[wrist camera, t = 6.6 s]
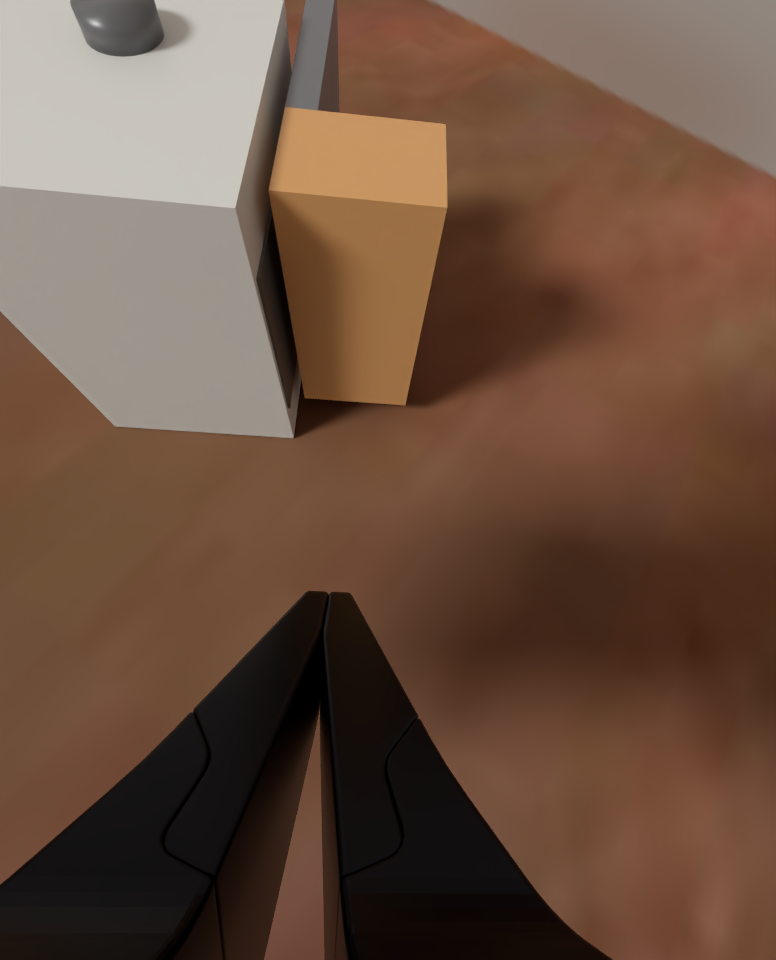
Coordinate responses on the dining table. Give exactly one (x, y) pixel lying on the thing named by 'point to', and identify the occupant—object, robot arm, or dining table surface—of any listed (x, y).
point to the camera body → (149, 206)
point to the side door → (353, 227)
